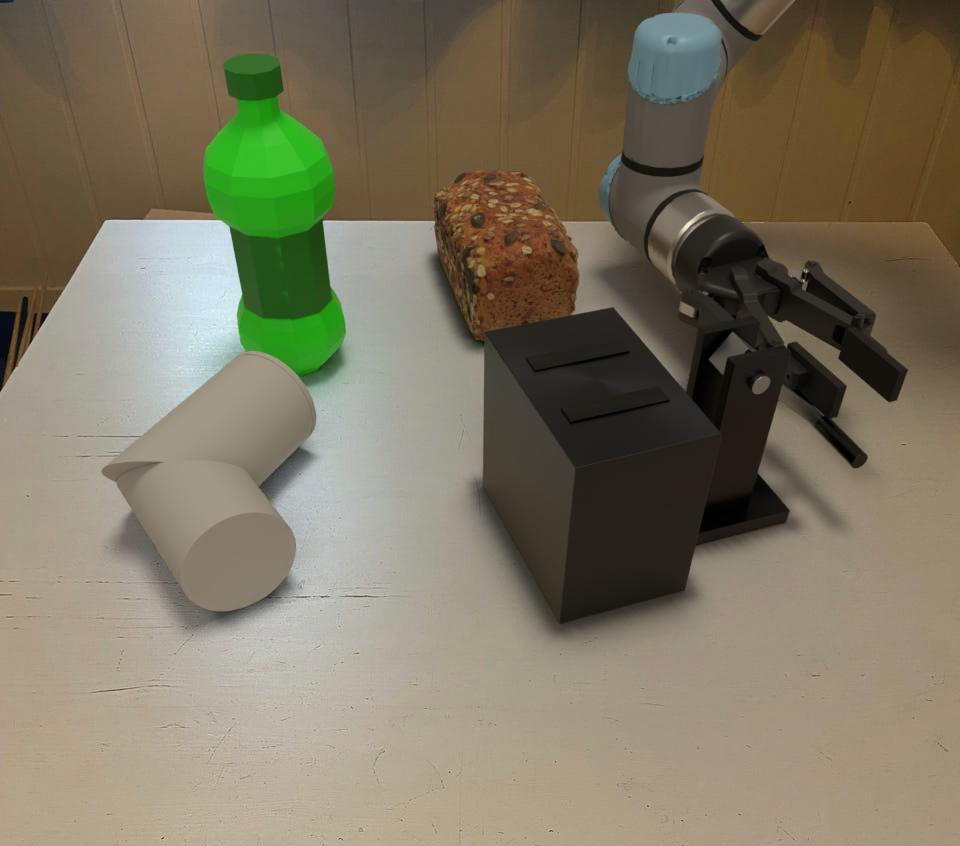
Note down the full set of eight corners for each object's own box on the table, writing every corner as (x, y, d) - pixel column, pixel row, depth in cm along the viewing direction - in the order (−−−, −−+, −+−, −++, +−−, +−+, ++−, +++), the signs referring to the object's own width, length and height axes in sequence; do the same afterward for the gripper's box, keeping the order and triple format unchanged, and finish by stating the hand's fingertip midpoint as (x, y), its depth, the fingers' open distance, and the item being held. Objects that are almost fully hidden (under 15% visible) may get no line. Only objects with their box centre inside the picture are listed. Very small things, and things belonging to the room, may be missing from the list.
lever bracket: (735, 461, 81) (777, 297, 70) (786, 521, 76) (840, 356, 65) (626, 487, 79) (652, 322, 68) (672, 551, 74) (707, 385, 63)
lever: (774, 394, 80) (795, 371, 78) (852, 476, 73) (876, 452, 72) (678, 327, 71) (701, 299, 70) (756, 412, 64) (783, 383, 63)
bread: (576, 338, 94) (585, 237, 86) (467, 350, 92) (466, 248, 84) (528, 245, 106) (532, 149, 98) (431, 254, 104) (428, 158, 96)
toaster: (595, 460, 81) (613, 304, 71) (685, 590, 71) (722, 432, 61) (482, 486, 79) (484, 329, 68) (559, 624, 69) (575, 466, 59)
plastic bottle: (254, 327, 94) (200, 37, 76) (362, 333, 94) (335, 42, 75) (227, 387, 88) (160, 86, 69) (343, 394, 87) (307, 92, 68)
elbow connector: (69, 471, 78) (161, 628, 67) (57, 348, 71) (158, 501, 60) (274, 439, 87) (385, 572, 76) (281, 328, 80) (404, 457, 69)
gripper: (783, 274, 92) (947, 409, 78) (615, 313, 88) (756, 463, 74) (802, 195, 87) (982, 324, 72) (623, 232, 83) (777, 377, 68)
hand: (867, 394), depth 73 cm, fingers open, 5 cm apart
